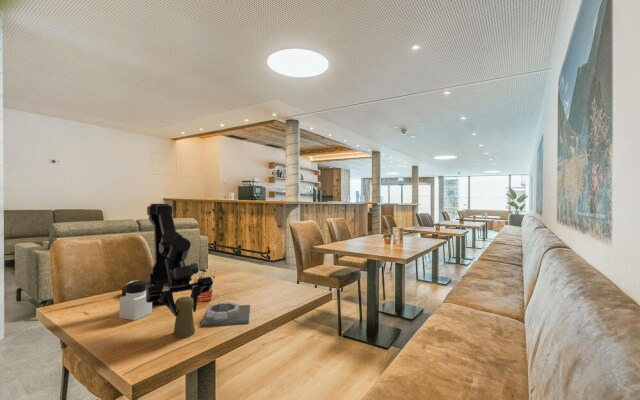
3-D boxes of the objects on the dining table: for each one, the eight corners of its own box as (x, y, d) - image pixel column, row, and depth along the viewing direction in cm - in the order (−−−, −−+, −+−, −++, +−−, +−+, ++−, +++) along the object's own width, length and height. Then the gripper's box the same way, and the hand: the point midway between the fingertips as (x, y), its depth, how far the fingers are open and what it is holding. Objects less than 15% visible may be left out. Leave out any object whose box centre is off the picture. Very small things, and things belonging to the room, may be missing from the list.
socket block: (201, 326, 97) (201, 315, 97) (208, 309, 112) (208, 300, 112) (248, 323, 100) (248, 312, 100) (250, 307, 115) (250, 298, 115)
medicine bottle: (152, 313, 108) (152, 280, 108) (134, 321, 101) (134, 285, 101) (137, 311, 110) (137, 278, 110) (118, 318, 103) (119, 283, 104)
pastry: (118, 294, 130) (118, 280, 130) (148, 288, 139) (148, 275, 139) (127, 300, 123) (127, 285, 123) (158, 293, 132) (158, 280, 132)
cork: (177, 329, 95) (178, 294, 95) (197, 329, 95) (197, 294, 95) (169, 338, 89) (170, 301, 89) (191, 337, 89) (191, 300, 89)
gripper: (147, 258, 89) (154, 306, 81) (211, 252, 101) (223, 293, 92) (143, 279, 95) (149, 326, 87) (203, 271, 107) (214, 311, 98)
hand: (185, 313), depth 91 cm, fingers closed on cork, 5 cm apart
